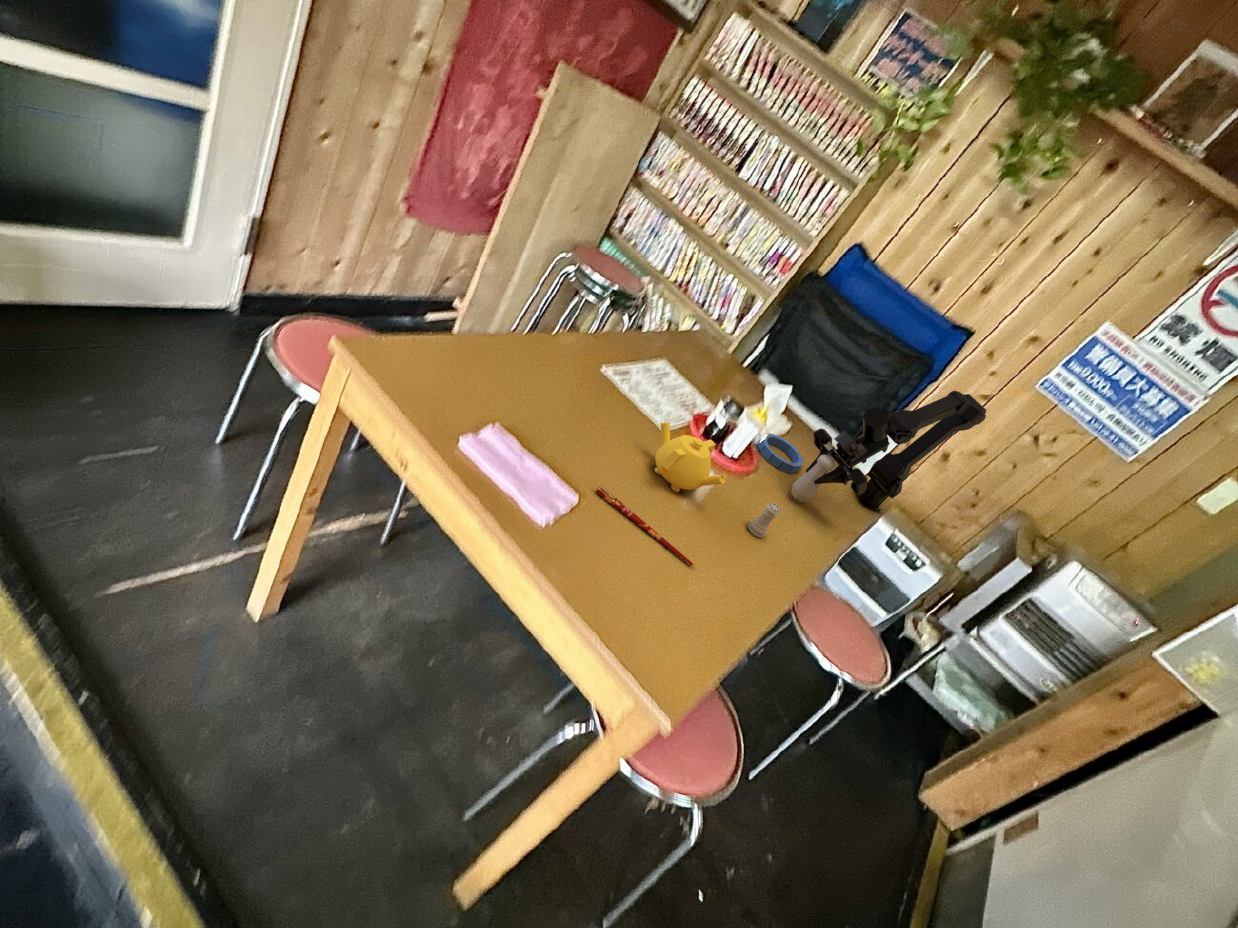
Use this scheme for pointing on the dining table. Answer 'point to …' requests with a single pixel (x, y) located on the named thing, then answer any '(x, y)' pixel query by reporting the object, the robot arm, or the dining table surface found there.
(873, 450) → the robot arm
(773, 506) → the rook chess piece
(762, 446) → the tape roll
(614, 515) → the dining table surface
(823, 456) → the salt shaker
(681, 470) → the teapot
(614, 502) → the chopstick
